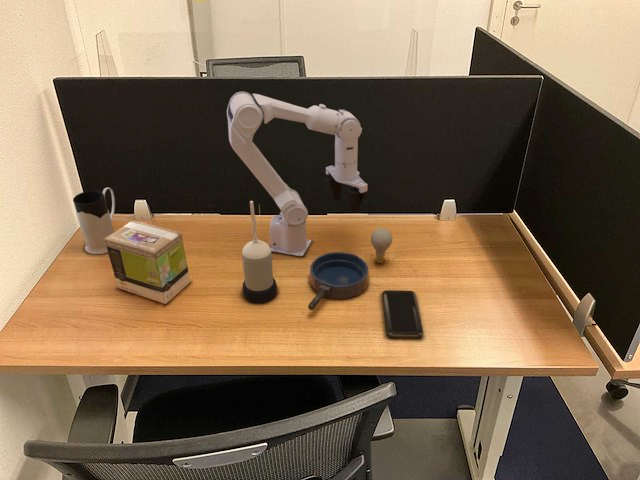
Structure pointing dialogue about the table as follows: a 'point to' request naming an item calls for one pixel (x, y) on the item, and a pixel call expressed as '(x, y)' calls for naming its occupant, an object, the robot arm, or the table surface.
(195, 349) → the table surface
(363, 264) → the pan
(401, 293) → the phone
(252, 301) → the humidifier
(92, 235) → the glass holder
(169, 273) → the tea box
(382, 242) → the light bulb
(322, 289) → the pan handle
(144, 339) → the table surface
